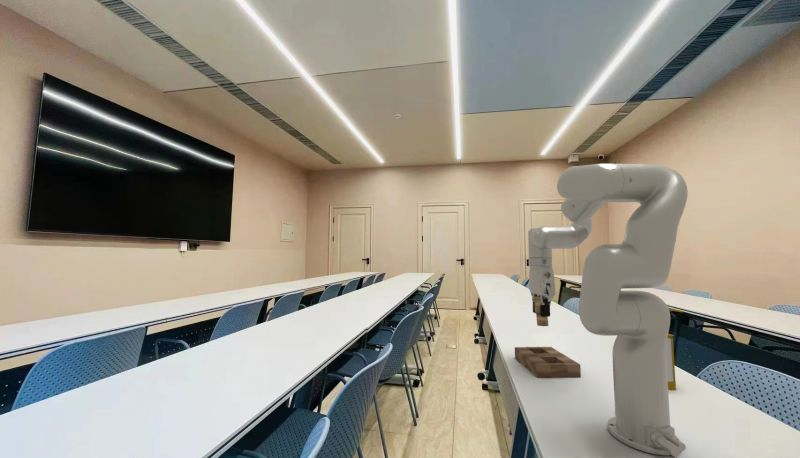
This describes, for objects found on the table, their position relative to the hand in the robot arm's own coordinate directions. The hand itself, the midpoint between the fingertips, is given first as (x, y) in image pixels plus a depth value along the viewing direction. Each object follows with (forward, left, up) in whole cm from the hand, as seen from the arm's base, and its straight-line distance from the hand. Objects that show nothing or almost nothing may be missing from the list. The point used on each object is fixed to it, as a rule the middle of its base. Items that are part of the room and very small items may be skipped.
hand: (541, 314), depth 107 cm
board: (+1, -1, -18) cm, 18 cm away
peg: (-1, 0, -4) cm, 4 cm away
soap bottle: (-14, -30, -19) cm, 38 cm away
